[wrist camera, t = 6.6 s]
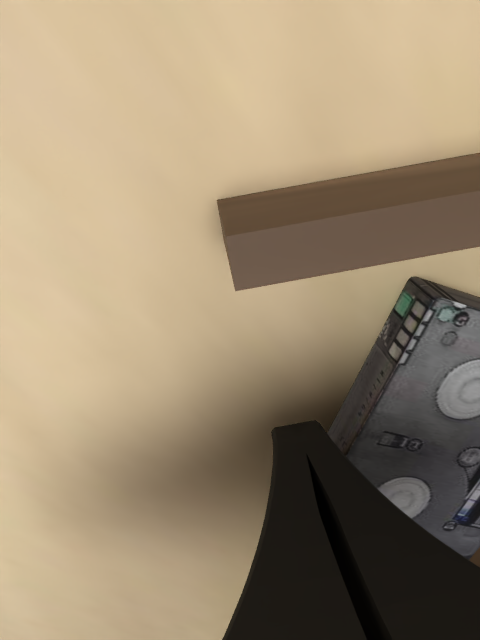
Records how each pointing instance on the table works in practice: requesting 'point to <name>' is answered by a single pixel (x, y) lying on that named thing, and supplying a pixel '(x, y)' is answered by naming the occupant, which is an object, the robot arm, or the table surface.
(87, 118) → the table surface
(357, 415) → the mini dv tape
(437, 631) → the robot arm
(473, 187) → the brown u-shaped frame
